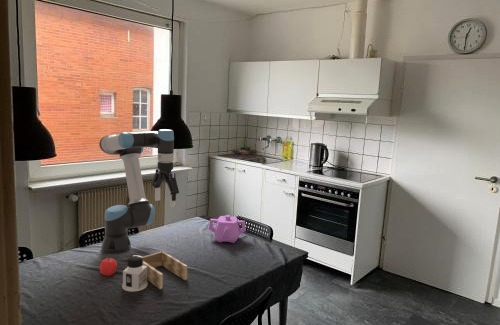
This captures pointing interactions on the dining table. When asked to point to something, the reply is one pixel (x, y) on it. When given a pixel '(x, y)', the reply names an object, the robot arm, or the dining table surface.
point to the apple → (108, 266)
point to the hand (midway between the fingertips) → (164, 203)
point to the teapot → (227, 228)
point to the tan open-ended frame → (166, 262)
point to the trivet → (135, 289)
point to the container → (135, 273)
